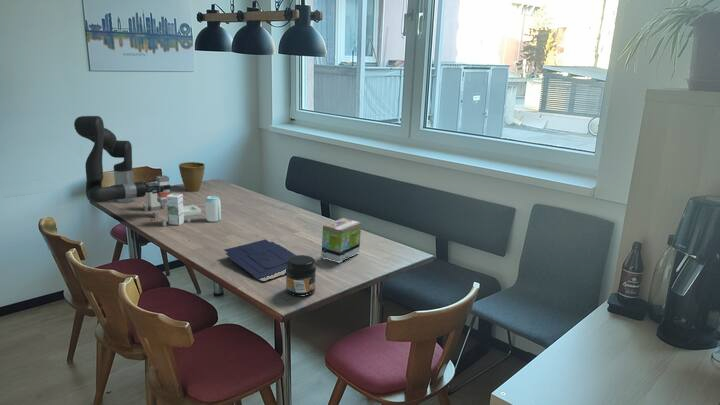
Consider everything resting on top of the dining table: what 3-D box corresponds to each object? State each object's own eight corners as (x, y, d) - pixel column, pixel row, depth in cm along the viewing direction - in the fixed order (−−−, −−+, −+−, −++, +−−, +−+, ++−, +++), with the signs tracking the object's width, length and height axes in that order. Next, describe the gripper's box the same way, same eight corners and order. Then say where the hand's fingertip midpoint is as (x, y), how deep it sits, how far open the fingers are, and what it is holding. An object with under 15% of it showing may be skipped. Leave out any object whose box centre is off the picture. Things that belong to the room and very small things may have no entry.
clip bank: (136, 210, 265) (135, 206, 265) (165, 206, 275) (165, 202, 274) (159, 227, 242) (159, 222, 242) (190, 221, 252) (190, 217, 251)
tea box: (340, 264, 209) (341, 230, 205) (320, 258, 214) (321, 225, 210) (360, 254, 221) (361, 221, 217) (340, 248, 226) (342, 216, 222)
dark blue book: (268, 244, 224) (269, 236, 223) (312, 272, 205) (313, 264, 204) (219, 256, 207) (219, 248, 206) (261, 289, 188) (262, 280, 187)
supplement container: (299, 300, 176) (300, 268, 173) (279, 290, 183) (279, 259, 179) (321, 291, 184) (322, 260, 180) (301, 282, 190) (302, 252, 187)
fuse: (148, 208, 270) (146, 184, 266) (157, 207, 273) (155, 183, 269) (151, 210, 267) (149, 186, 263) (160, 209, 270) (159, 185, 266)
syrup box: (184, 222, 251) (183, 193, 248) (179, 225, 246) (177, 196, 242) (173, 221, 252) (171, 192, 248) (167, 224, 246) (166, 195, 242)
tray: (174, 212, 266) (174, 207, 265) (193, 209, 272) (193, 204, 272) (182, 217, 259) (182, 212, 258) (201, 214, 265) (201, 209, 265)
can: (203, 220, 255) (202, 197, 252) (213, 217, 261) (212, 194, 258) (213, 223, 252) (213, 199, 248) (223, 219, 258) (223, 196, 255)
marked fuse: (157, 201, 258) (155, 176, 255) (166, 200, 261) (165, 175, 258) (160, 203, 255) (159, 178, 251) (170, 202, 258) (168, 177, 254)
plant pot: (175, 192, 304) (173, 165, 300) (187, 186, 319) (186, 161, 314) (198, 194, 302) (197, 167, 298) (209, 188, 316) (209, 163, 312)
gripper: (137, 185, 240) (173, 181, 251) (127, 179, 251) (162, 175, 262) (138, 201, 243) (174, 196, 254) (128, 194, 253) (163, 189, 264)
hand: (168, 185), depth 258 cm, fingers closed on marked fuse, 4 cm apart
